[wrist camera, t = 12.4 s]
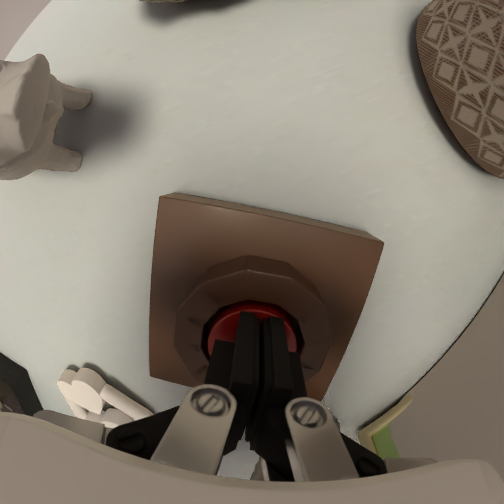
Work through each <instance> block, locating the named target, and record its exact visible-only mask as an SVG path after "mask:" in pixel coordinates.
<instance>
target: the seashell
mask: <svg viewBox="0 0 504 504" xmlns="http://www.w3.org/2000/svg"><path fill="white" fill-rule="evenodd" d="M141 1H146V2H155V3H156V2H166V3H170V2H172V3H178V2H182V1H187V0H141Z"/></svg>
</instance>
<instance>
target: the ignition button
mask: <svg viewBox="0 0 504 504" xmlns="http://www.w3.org/2000/svg"><path fill="white" fill-rule="evenodd" d="M241 311H245V312H250V313H255V317H258V318H259V319H260V322H259V333H260V329H261V325H262V321H263V319H268V318H269V316H273V317H279V318H283V319H284V324H285V331H286V337H287V344H288V351H290V352H296V349H297V341H296V336H295V331H294V326H293V322H292V317H291V315H290V314H289V313H287V312H286V311H285V310H284V309H282V308H281V307H280V306H279V305H276V304H270V303H265V302H259V301H254V300H249V299H248V300H244V301H241V302H237V303H234V304H230V305H227V306H223V307H221V308H220V309H219V310H218V311H217V312H216V314H215V316H214V320H213V323H212V327H211V330H210V333H209V337H208V351H209V354H210V356H211V353H212V349H213V345H214V342H215V339H218V340H223V341H229V342H234V340H235V336H236V331H237V326H238V321H239V316H240V312H241Z"/></svg>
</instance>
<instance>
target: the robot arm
mask: <svg viewBox="0 0 504 504" xmlns="http://www.w3.org/2000/svg"><path fill="white" fill-rule="evenodd" d="M259 322H260V319H259V318H258V317H255V313H250V312H245V311H241V312H240V316H239V321H238V326H237V331H236V336H235V340H234V342H229V341H223V340H218V339H215V342H214V345H213V349H212V353H211V357H210V361H209V365H208V369H207V373H206V378H205V382H204V384H202V385H198V386H195V387H193V388H192V389H190V391H189V392H188V393H187V394H186V396H185V398H184V400H183V402H182V403H181V405H180V406H177V407H174V408H171V409H169V410H166V411H163V412H160V413H157V414H154V415H151V416H148V417H145V418H142V419H139V420H136V421H132V422H129V423H126V424H122V425H119V426H117V427H115V428H108V427H105V424H102V423H97V422H93V421H88V420H84V419H80V418H76V417H72V416H68V415H65V414H61V413H58V412H54V411H50V410H42V411H38V412H37V413H35V414H34V415H33V416H32V417H31V416H27V415H23V414H18V413H11V412H0V504H504V482H503V481H502V479H501V477H500V476H499V474H498V473H497V471H496V470H495V469H494V468H493V466H492V465H490V464H489V463H487V462H485V461H481V460H476V459H457V460H448V461H442V462H437V461H436V460H434V459H432V458H395V457H386V458H385V459H384V460H382V458H380V457H379V456H378V455H377V454H375V453H373V452H371V451H370V450H368V449H366V448H365V447H363V446H361V445H360V444H358V443H357V442H355V441H353V440H352V439H350V438H349V437H347V436H345V435H344V434H342V433H341V432H339V430H338V427H337V425H336V423H335V421H334V419H333V416H332V414H331V412H330V410H329V409H328V407H327V406H326V405H324V404H323V403H322V402H320V401H318V400H316V399H313V398H310V397H307V391H306V386H305V381H304V376H303V370H302V365H301V360H300V356H299V353H297V352H290V351H288V344H287V337H286V331H285V324H284V319H283V318H279V317H273V316H269V318H268V319H263V321H262V325H261V329H260V333H259ZM245 427H246V431H245V441H247V442H250V450H255V452H256V453H257V454H258V455H259V456H261V457H262V458H261V467H262V472H263V477H264V481H258V480H246V479H237V478H229V477H222V476H217V473H218V470H219V467H220V464H221V461H222V458H223V456H224V455H226V454H228V453H230V452H231V451H233V450H235V449H236V446H237V443H238V440H239V441H241V439H242V436H243V433H244V430H245Z"/></svg>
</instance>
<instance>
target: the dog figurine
mask: <svg viewBox="0 0 504 504" xmlns="http://www.w3.org/2000/svg"><path fill="white" fill-rule="evenodd" d="M91 94H92V92H91V91H90V90H87V89H78V88H75V87H72V86H69V85H65V84H63V83H61V82H60V81H58V80H57V79H56V78H55V77H54V76H53V75H52V74H50V68H49V63H48V61H47V59H46V57H45V56H44V55H42V54H36V55H34V56H33V57H31V58H30V59H28V60H26V61H23V62H9V61H2V60H0V180H14V179H19V178H22V177H24V176H26V175H28V174H30V173H32V172H33V171H35V170H37V169H46V170H52V171H71V172H74V171H76V170H78V169H79V167H80V165H81V162H82V156H81V154H80V153H79V152H77V151H73V150H69V149H67V148H65V147H62V146H58V145H57V144H55V143H54V142H53V138H54V132H55V128H56V125H57V123H58V120H59V119H60V117H61V116H62V114H63V110H64V109H63V108H67V109H76V110H80V109H83V108H84V107H86V106H87V105H88V104H89V102H90V99H91Z"/></svg>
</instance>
